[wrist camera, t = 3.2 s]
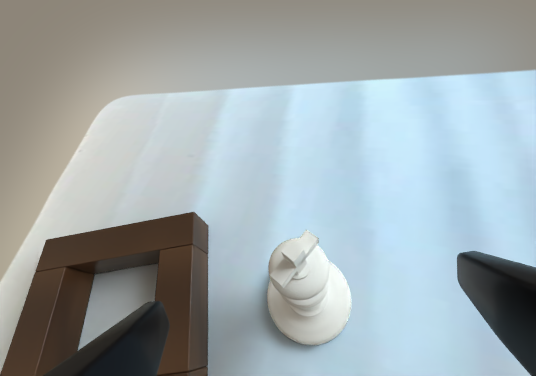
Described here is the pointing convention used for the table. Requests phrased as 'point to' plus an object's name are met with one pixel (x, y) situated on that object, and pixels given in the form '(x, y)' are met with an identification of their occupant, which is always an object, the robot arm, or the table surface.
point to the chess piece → (307, 292)
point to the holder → (110, 259)
